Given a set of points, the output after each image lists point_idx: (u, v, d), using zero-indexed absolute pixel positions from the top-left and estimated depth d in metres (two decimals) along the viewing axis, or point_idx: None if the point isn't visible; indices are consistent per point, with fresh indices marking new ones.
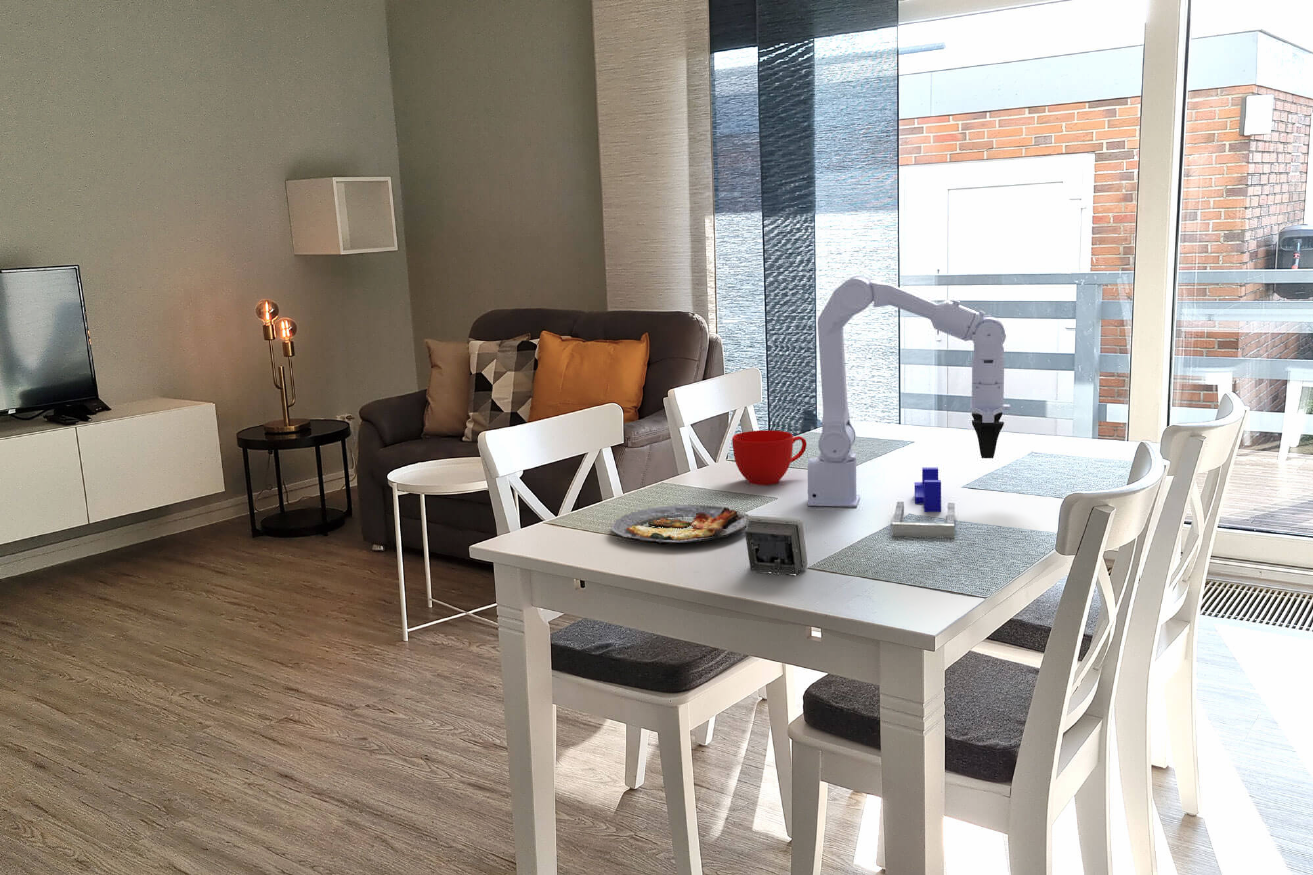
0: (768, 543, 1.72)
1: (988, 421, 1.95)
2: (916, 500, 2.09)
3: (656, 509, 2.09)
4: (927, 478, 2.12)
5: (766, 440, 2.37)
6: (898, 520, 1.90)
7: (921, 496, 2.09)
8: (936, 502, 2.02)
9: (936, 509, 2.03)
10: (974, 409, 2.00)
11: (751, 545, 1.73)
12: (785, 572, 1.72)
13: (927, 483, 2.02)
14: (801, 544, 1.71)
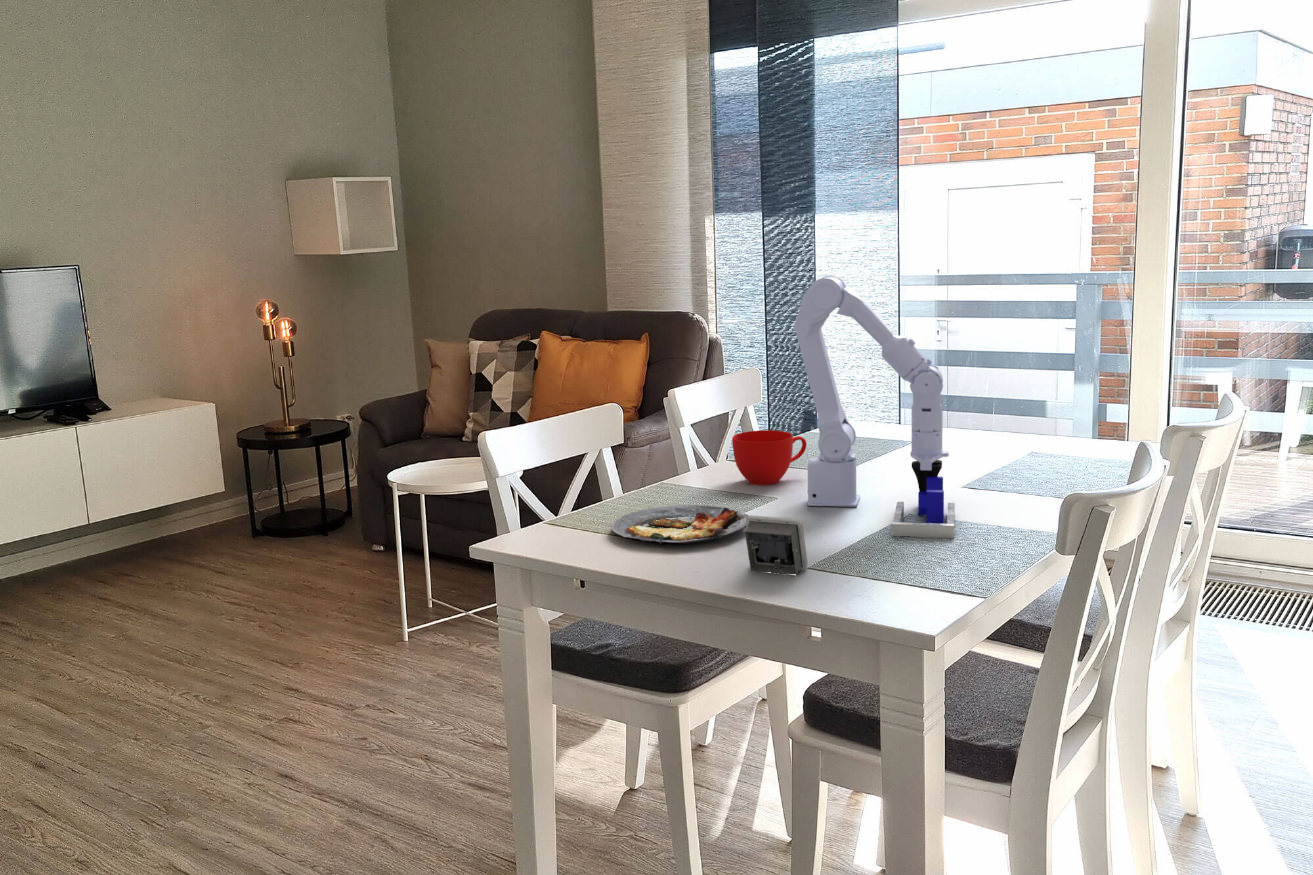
0: (768, 543, 1.72)
1: (926, 469, 2.00)
2: (919, 510, 2.01)
3: (656, 509, 2.09)
4: (931, 488, 2.04)
5: (766, 440, 2.37)
6: (898, 520, 1.90)
7: (924, 506, 2.01)
8: (938, 513, 1.94)
9: (938, 520, 1.94)
10: (913, 456, 2.05)
11: (751, 545, 1.73)
12: (785, 572, 1.72)
13: (929, 493, 1.94)
14: (801, 544, 1.71)
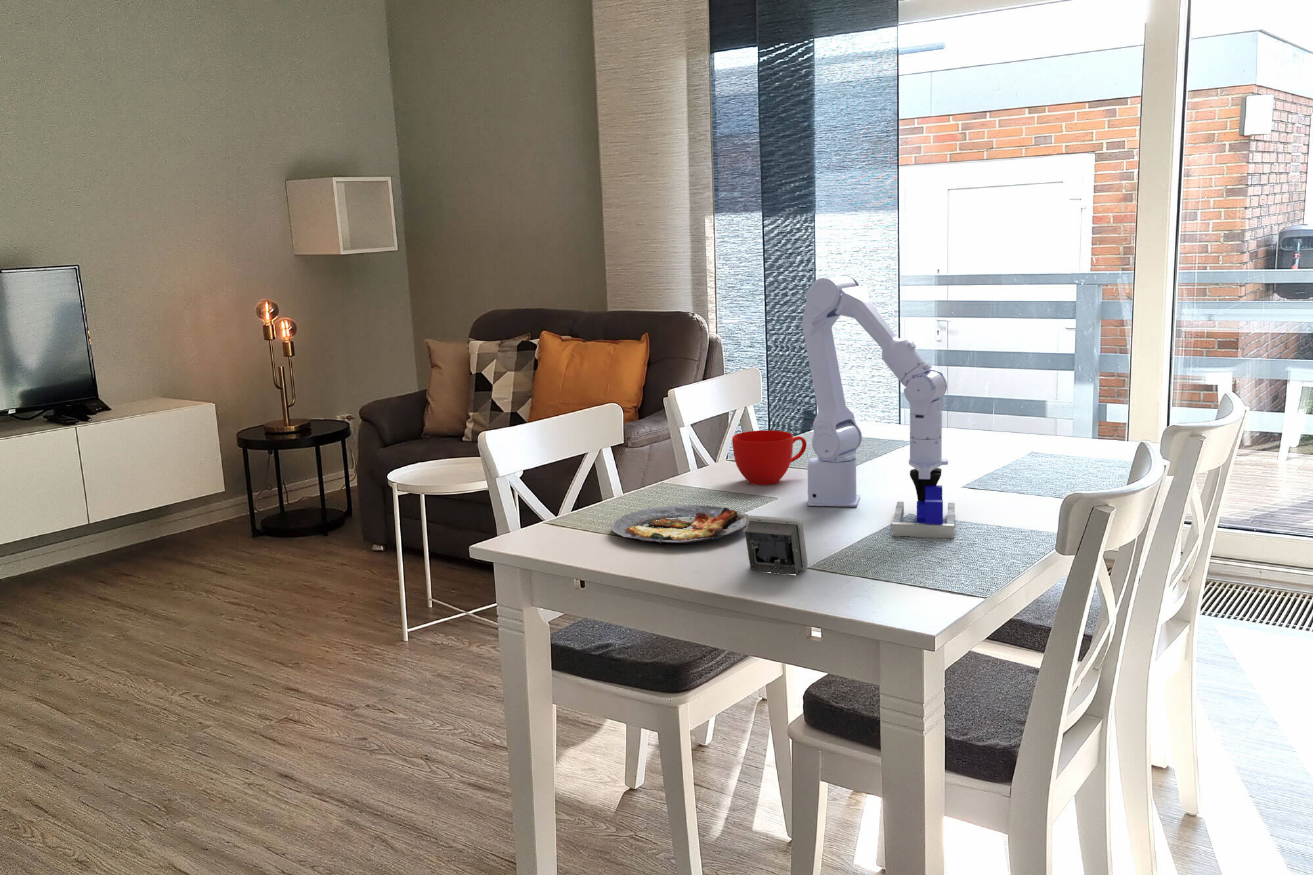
0: (768, 543, 1.72)
1: (924, 477, 1.93)
2: (917, 521, 1.94)
3: (656, 509, 2.09)
4: (930, 497, 1.97)
5: (766, 440, 2.37)
6: (898, 520, 1.90)
7: (923, 516, 1.94)
8: None
9: None
10: (912, 464, 1.98)
11: (751, 545, 1.73)
12: (785, 572, 1.72)
13: (928, 503, 1.87)
14: (801, 544, 1.71)
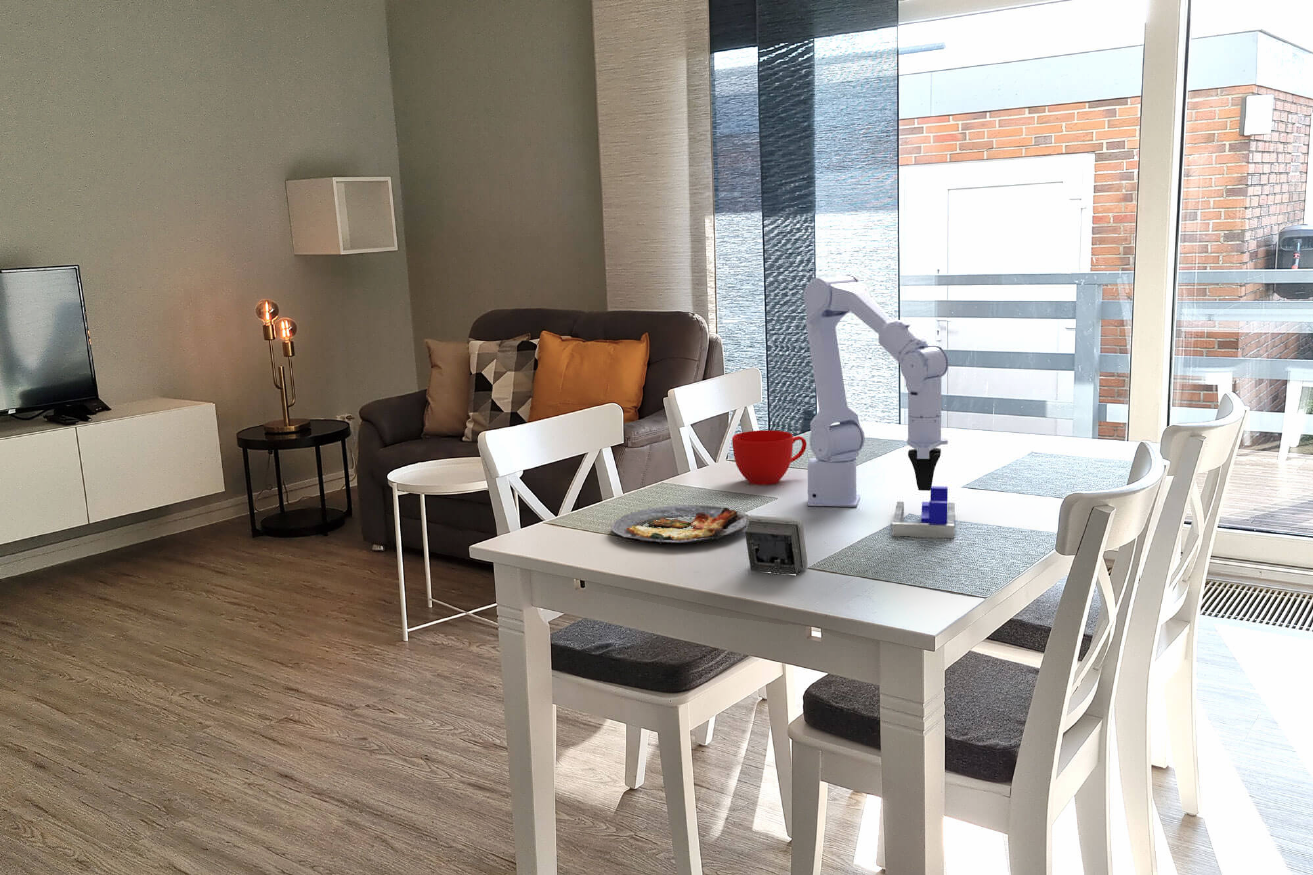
0: (768, 543, 1.72)
1: (923, 457, 1.86)
2: (922, 521, 1.94)
3: (656, 509, 2.09)
4: (935, 498, 1.97)
5: (766, 440, 2.37)
6: (898, 520, 1.90)
7: (927, 517, 1.94)
8: None
9: None
10: (910, 444, 1.91)
11: (751, 545, 1.73)
12: (785, 572, 1.72)
13: (932, 504, 1.87)
14: (801, 544, 1.71)
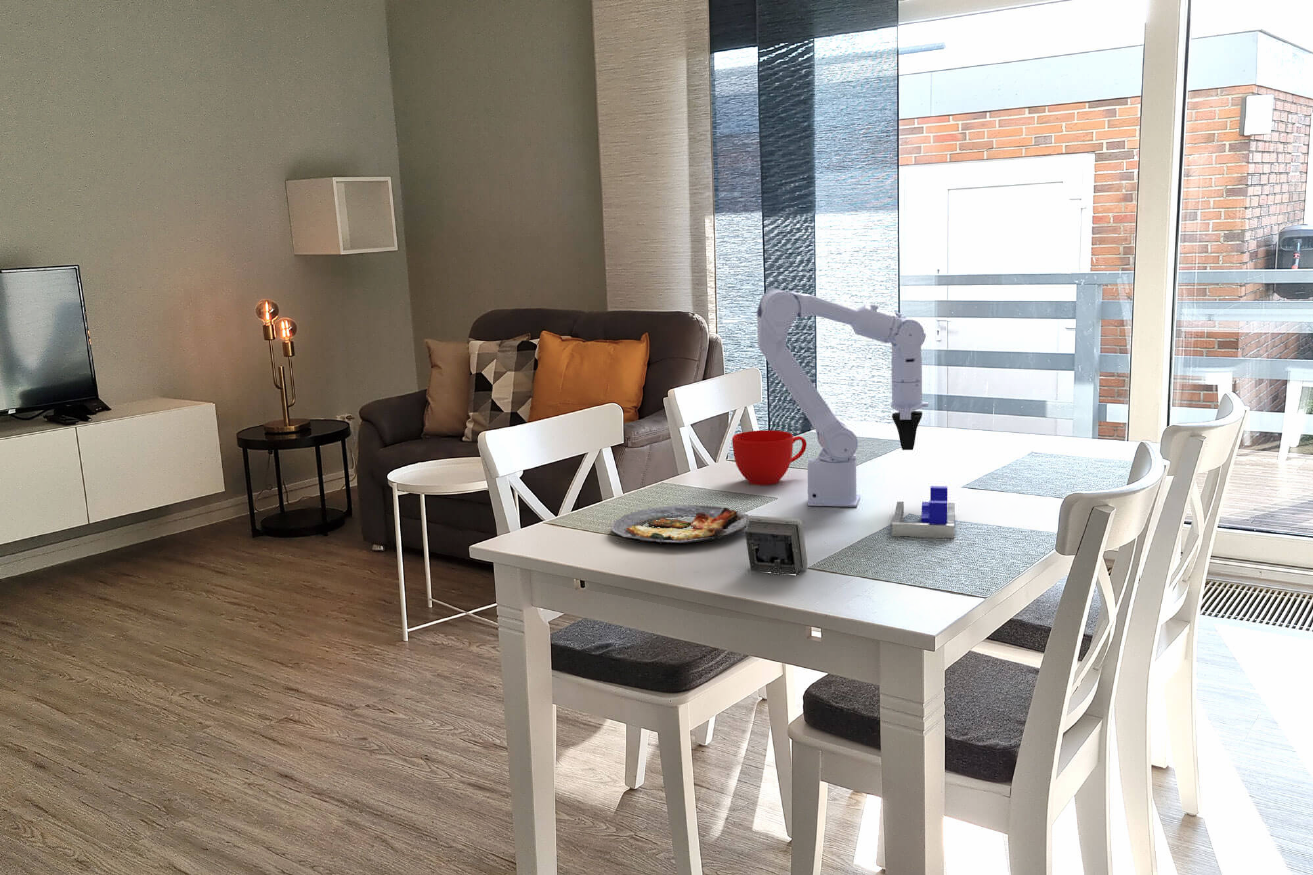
0: (768, 543, 1.72)
1: (905, 418, 2.03)
2: (922, 521, 1.94)
3: (656, 509, 2.09)
4: (935, 498, 1.97)
5: (766, 440, 2.37)
6: (898, 520, 1.90)
7: (927, 517, 1.94)
8: None
9: None
10: (893, 407, 2.08)
11: (751, 545, 1.73)
12: (785, 572, 1.72)
13: (932, 504, 1.87)
14: (801, 544, 1.71)
